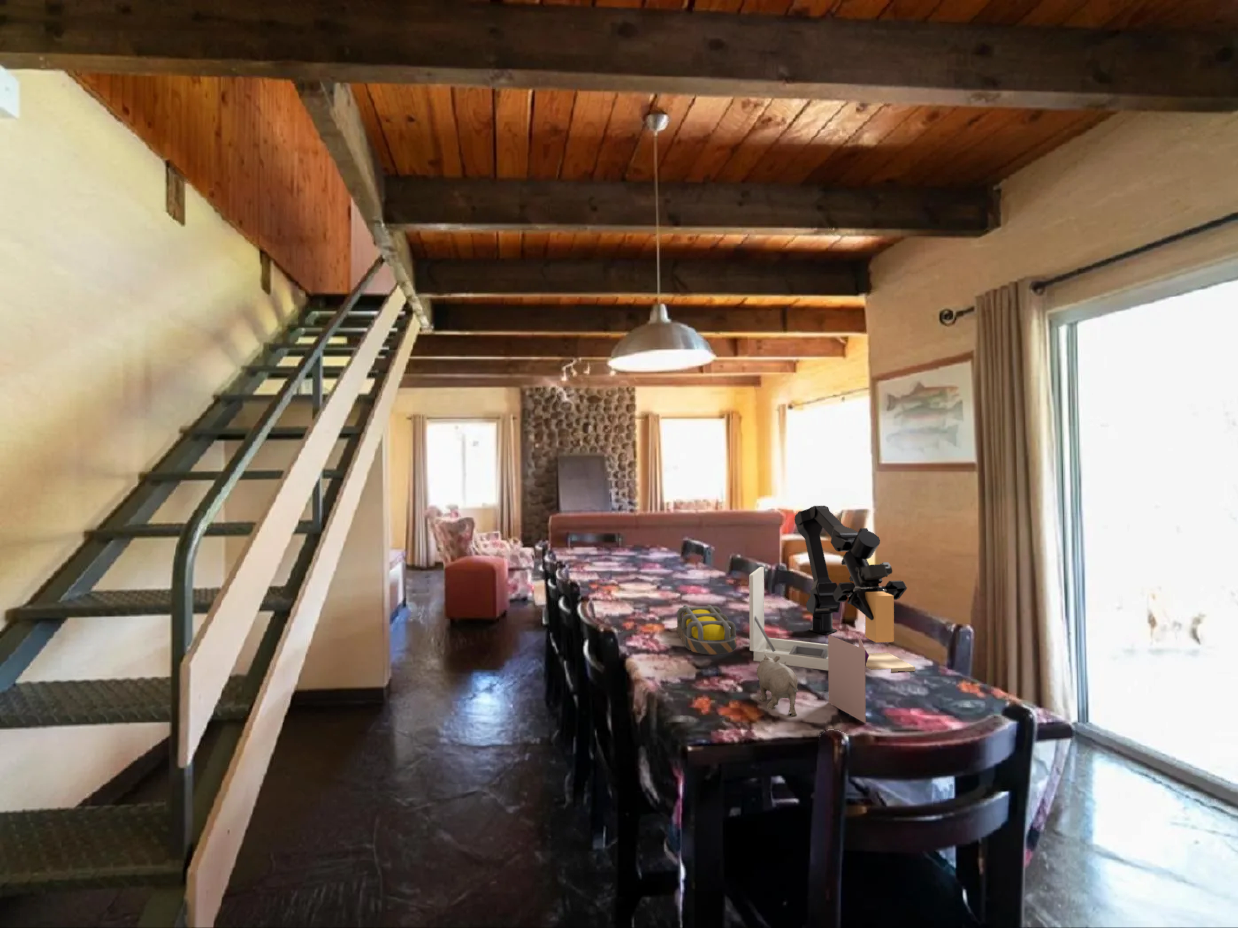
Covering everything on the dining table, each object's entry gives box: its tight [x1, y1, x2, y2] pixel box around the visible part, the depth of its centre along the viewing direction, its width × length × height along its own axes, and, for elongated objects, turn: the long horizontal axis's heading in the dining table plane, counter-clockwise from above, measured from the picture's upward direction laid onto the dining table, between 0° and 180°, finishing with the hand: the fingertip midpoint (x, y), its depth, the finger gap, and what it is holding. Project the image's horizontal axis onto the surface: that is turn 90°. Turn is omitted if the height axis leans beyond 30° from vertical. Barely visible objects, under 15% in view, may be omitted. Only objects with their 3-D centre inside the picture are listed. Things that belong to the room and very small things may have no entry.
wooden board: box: [865, 652, 916, 673], centre depth 159 cm, size 12×12×1 cm
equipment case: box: [748, 566, 828, 671], centre depth 162 cm, size 14×21×24 cm, turn 65°
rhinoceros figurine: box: [756, 654, 799, 717], centre depth 134 cm, size 8×14×15 cm
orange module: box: [864, 591, 895, 644], centre depth 159 cm, size 5×5×12 cm
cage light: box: [676, 603, 737, 655], centre depth 183 cm, size 15×8×30 cm
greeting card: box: [827, 634, 869, 724], centre depth 129 cm, size 11×7×15 cm, turn 164°
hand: (882, 618), depth 157 cm, fingers closed on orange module, 5 cm apart
